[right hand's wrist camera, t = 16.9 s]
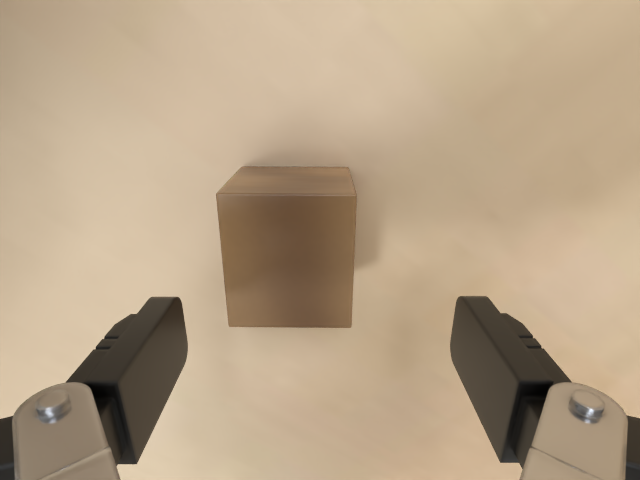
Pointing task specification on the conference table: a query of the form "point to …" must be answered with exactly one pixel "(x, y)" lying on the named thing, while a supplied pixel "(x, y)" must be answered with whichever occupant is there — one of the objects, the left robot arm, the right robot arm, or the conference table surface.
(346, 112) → the conference table surface
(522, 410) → the right robot arm
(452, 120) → the conference table surface
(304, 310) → the brick
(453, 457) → the conference table surface
